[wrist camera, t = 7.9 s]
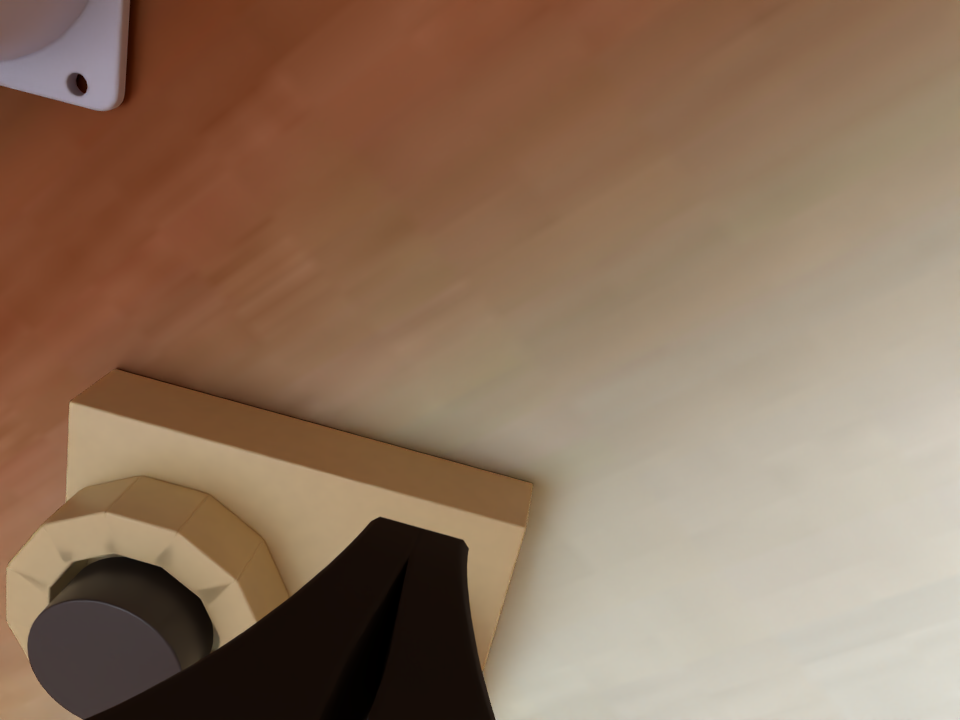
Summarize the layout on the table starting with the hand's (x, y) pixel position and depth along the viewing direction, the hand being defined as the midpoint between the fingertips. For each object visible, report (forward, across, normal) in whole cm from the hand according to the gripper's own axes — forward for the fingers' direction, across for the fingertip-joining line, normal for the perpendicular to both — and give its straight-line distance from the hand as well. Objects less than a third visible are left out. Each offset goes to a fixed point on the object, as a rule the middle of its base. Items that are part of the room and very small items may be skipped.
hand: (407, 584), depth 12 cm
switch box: (+10, +4, +9) cm, 14 cm away
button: (+7, +7, +9) cm, 13 cm away
